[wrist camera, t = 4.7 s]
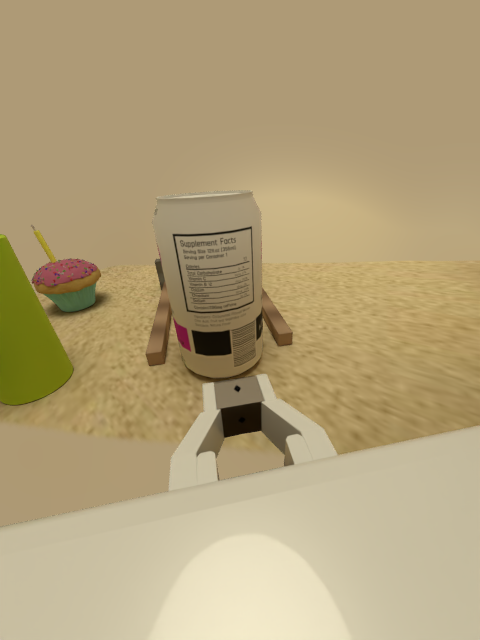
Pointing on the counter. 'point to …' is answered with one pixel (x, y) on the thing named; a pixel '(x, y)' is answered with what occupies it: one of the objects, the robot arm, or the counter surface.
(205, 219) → the supplement can
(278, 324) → the u-shaped wooden rack
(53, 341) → the soap dispenser
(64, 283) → the cupcake
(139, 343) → the counter surface
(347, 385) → the counter surface
